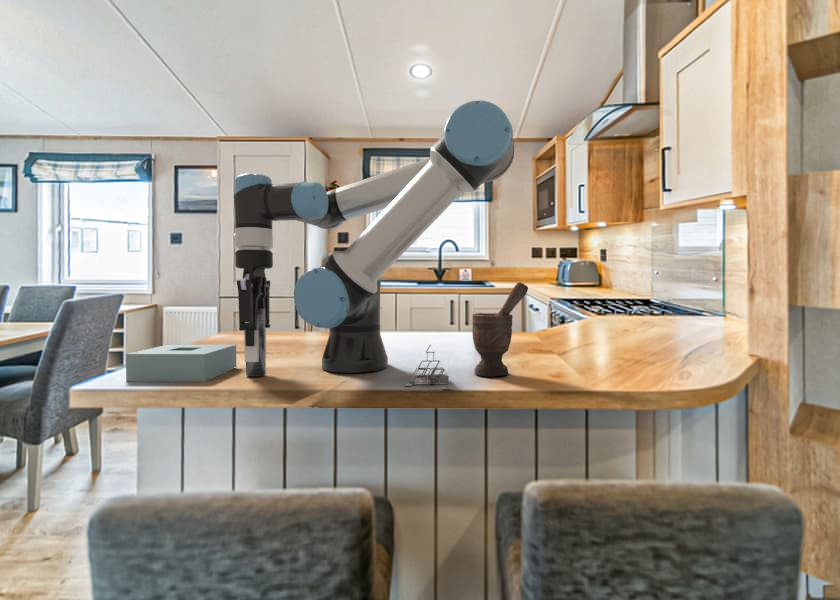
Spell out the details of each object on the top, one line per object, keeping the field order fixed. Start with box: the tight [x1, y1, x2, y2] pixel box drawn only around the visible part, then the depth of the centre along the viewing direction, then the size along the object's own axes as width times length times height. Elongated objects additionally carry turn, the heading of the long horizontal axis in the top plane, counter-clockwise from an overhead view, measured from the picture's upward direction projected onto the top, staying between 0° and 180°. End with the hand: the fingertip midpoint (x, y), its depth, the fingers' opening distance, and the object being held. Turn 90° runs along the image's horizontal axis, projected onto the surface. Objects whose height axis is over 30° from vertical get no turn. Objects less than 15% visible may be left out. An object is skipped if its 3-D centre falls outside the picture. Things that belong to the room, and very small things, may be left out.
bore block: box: [125, 344, 237, 382], centre depth 107 cm, size 16×16×6 cm
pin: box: [245, 308, 267, 377], centre depth 104 cm, size 4×4×14 cm
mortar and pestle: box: [471, 281, 529, 378], centre depth 105 cm, size 12×9×20 cm
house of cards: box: [405, 344, 452, 390], centre depth 97 cm, size 9×9×8 cm
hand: (255, 359), depth 104 cm, fingers closed on pin, 4 cm apart
